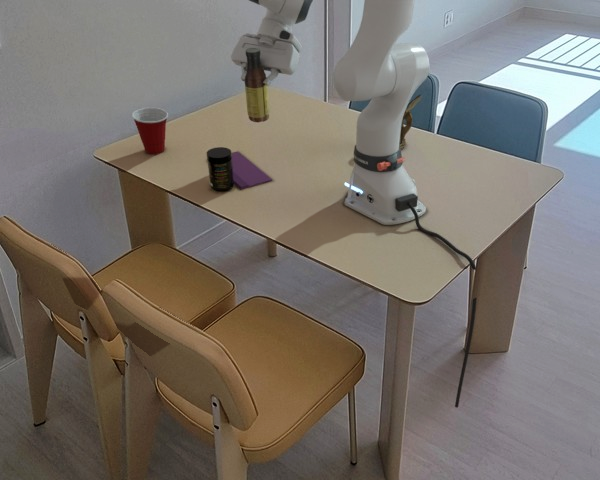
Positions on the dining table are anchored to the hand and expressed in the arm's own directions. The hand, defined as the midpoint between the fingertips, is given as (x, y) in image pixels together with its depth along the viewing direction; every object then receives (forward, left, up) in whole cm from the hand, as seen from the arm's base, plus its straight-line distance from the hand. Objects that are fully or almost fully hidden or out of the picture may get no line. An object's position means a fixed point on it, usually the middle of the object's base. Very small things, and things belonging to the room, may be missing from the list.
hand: (254, 82), depth 183 cm
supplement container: (-11, +17, -23) cm, 31 cm away
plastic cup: (+22, +25, -23) cm, 40 cm away
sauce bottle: (0, -1, -11) cm, 11 cm away
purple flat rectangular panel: (-4, +9, -23) cm, 25 cm away
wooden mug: (-16, -39, -23) cm, 48 cm away
